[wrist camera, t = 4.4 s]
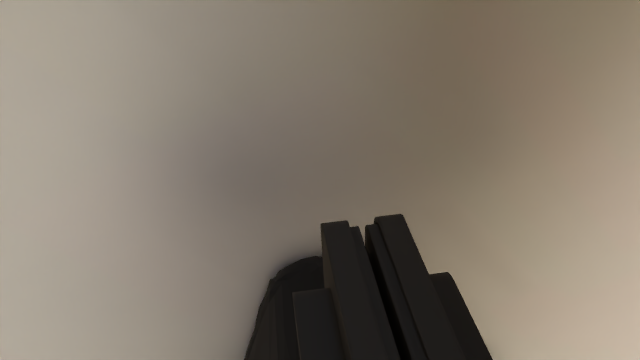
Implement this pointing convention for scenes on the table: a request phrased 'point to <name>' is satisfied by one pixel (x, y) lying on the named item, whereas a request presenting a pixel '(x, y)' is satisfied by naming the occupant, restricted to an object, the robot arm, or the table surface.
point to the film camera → (283, 311)
